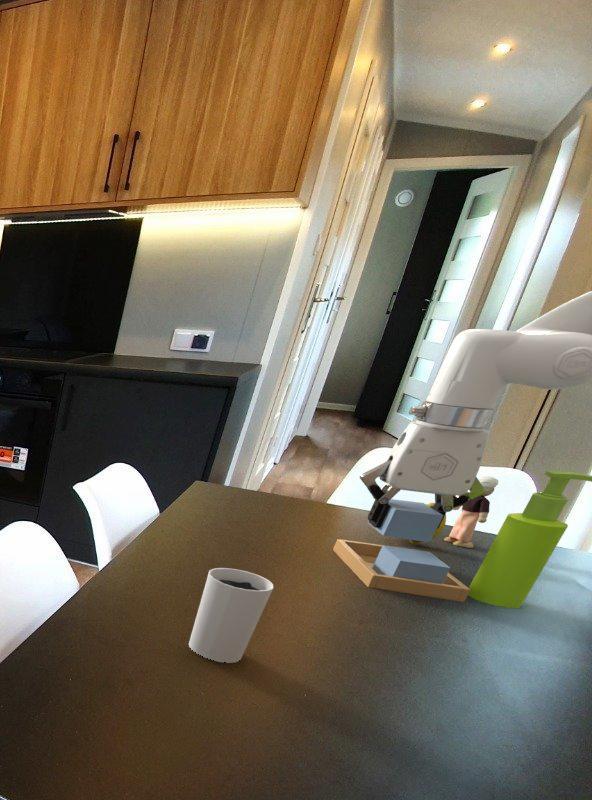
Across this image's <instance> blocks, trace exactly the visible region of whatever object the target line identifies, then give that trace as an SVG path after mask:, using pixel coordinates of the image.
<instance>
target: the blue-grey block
mask: <svg viewBox="0 0 592 800" xmlns="http://www.w3.org/2000/svg"><path fill="white" fill-rule="evenodd" d="M397 547H398V546H392V547H390V545H384V546H382V548H381V550H380V552H379V555H378V557H377V559H376V561H375V563H374V565H373V568H372V569H373V570H374V571H375V572H376V573H377V574H379V575H386V576H393V577H399V578H406V579H413V580H419V581H426V582H433V583H439V584H442V583H443V581H444V579H445V578H446V576H447V574H448V573H449V572H450V570H451V567H450V566H449V565H447V564H446V563H445V562H444V561H442V560H441V559H440V558H438V557H437V556H436V555H434V554H433V553H432V552H430V551H425V550H420V549H413V548H406V547H399V548H397ZM405 548H406V549H405ZM412 549H413V550H412ZM419 550H420V551H419Z"/></svg>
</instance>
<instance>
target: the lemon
mask: <svg viewBox="0 0 592 800" xmlns="http://www.w3.org/2000/svg"><path fill="white" fill-rule="evenodd" d="M425 504H426V505H428V506H429V507H430V506H434V504H435V502H429V503H425ZM446 523H447V513H446V514H445V516H444V518H443V520H442V522H441V524H440V526H439V528H438V529H436V531H435V533H434V535H433V537H432V539H431V541H432V540H434V539H435V538H437V537H438V536H440V534H441V533H442V532H443V531H444V529H445V526H446ZM408 540H409V542H410V543H411V544H412V545H417V544H421V543H425V542H424V541H417V540H410V539H408Z"/></svg>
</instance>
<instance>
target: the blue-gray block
mask: <svg viewBox="0 0 592 800" xmlns="http://www.w3.org/2000/svg"><path fill="white" fill-rule="evenodd" d="M388 504H389V505H390V508H389V510H388V512H387V514H386V516H385V519H384V521H383V523H382V525H381V527H379V528H375V527H373V526H372V525H371V524H370V523H369V520H368V519H367V524H369V526H370V527H372V528H373V529H374V530H375V531H376V532H378V534H380V535H381V536H383V537H390V538H395V539H396V538H397V539H403V540H409V539H410V540H417V541H424V542H423V543H431V541H432V540H433V539H432V537H433V535H434V533H435V531H436V529H437V527H438V526H439V524H440V522H441V520H442V518H443V515H442V514H440V513H439V512H437V511H435V510H434V509H432V508H431V507H429V506H428V505H426V504H427V503H425V502H419V501H418V502H417V501H411V500H410V501H409V500H401V499H395V498H392V499H391V500H390V501H389V503H388ZM431 539H432V540H431ZM410 540H409V541H410Z"/></svg>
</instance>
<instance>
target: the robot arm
mask: <svg viewBox="0 0 592 800" xmlns="http://www.w3.org/2000/svg"><path fill="white" fill-rule="evenodd" d="M449 346H450V347H449V349H448V350H447V353H446V355H445V357H444V360H443V362H442V365H441V367H440V368H439V370H438V373H437V375H436V377H435V380H434V382H433V384H432V386H431V388H430V391H429V392H428V394H427V397H426V399H425V401H423V402H422V404H421V405H412V406H411V407H410V408H409V410H408V414H409V415H410V416H415V419H416V421H410V422H409V423H408V425H407V426H406V428H405V429H404V430H403V432H402V434H400V436H399V438H398V439H397V440H396V442H395V444H394V445H393V447H392V448H391V450H390V451H389V454H388V455H387V457H386V459H385V461H384V462H383V463H381V464H379V465H377V466H375V467H373V468H371V469H369V470H367V471H366V472H363V473H361V474H360V475H359V479H360V480H361V482H362V483H363V485H364V486H365V487H366V489H367V490H368V492H369V494H370V495H371V496H372V498H373V499H374V501H373V503H372V506H371V509H370V511H369V513H368V515H367V521H368V520H369V523H370V524H371V525H372V526H373V527H375V528H379V527H381V525H382V523H383V521H384V519H385V516H386V514H387V512H388V510H389V508H390V505H389V504H388V503H389V501H390V500H391V499H394V497H395V496H396V495H397V494H398V493H399V492H401V491H407V492H408V491H409V492H417V493H424V494H433V495H434V503H435V504H434V506H430V507H431V508H432V509H434V510H435V511H437V512H439V513H440V514H442V515H443V518H444V516H445V514H446V515H447V513H450V512H452V511H454V510H453V508H455V507H457V506H459V505H462V504H464V503H466V502H467V501H468V500H471V499H474V498H476V497H478V496H481V495H483V494H484V493H485V492H486V491H485V489H484V487H483V486H482V484H481V483H480V482H479V480H478V479H479V478H478V477H477V475H478V474H479V470H480V467H481V465H482V464H483V460H484V458H485V454H486V451H487V447H488V444H489V439H490V434H491V431H490V430H487V429H485V427H486V425H487V424H488V421H489V419H490V417H491V415H492V413H493V411H494V409H495V408H496V405H497V403H498V402H499V399H500V397H501V395H502V393H503V391H504V389H505V387H506V385H508V384H513V385H519V386H525V387H531V388H537V389H542V390H551V391H553V390H555V391H556V390H557V391H559V390H566V389H571V388H576V387H578V386H582V385H584V384H586V383H588V382H590V381H592V290H590V291H588V292H586V293H584V294H580V295H579V296H577V297H575V298H573V299H571V300H568V301H567V302H565V303H562V304H561V305H559V306H557V307H555V308H553V309H551V310H549V311H547V312H546V313H544V314H542V315H541V316H539V317H537V318H536V319H534V320H532V321H530V322H528V323H527V324H525V325H524V326H522V327H520V328H519V329H517V330H505V329H491V328H490V329H488V328H471V329H466V330H465V329H464V330H463V331H460V332H459V333H458V334H456V336H455V337H454V339H453V341H452V342H451V344H450V345H449ZM378 478H379V480H380V481H382V482H384V484H383V485H382V486H381V487H380V486H379V485H378V483H377V481H376V479H378ZM443 518H442V520H443ZM442 520H441V522H442ZM441 522H440V524H441ZM370 524H369V525H370ZM440 524H439V526H440ZM371 525H370V526H371ZM372 526H371V527H372ZM439 526H438V527H437V529H438V528H439ZM373 527H372V528H373Z"/></svg>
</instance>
